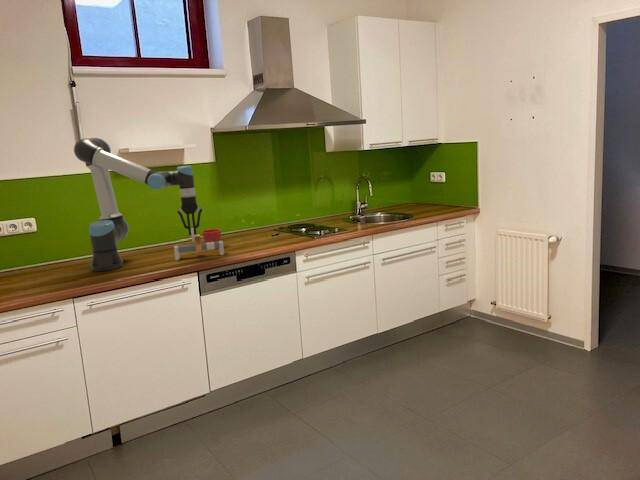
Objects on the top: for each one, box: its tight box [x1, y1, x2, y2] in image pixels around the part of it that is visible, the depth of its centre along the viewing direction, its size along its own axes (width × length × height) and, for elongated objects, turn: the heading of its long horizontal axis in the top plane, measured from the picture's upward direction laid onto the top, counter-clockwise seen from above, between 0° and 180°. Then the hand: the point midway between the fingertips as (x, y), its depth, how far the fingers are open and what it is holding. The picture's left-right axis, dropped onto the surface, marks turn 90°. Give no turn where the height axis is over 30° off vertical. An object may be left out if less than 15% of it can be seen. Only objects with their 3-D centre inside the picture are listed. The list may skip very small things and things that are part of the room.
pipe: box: [173, 240, 225, 261], centre depth 281 cm, size 25×6×7 cm, turn 104°
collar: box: [194, 234, 203, 256], centre depth 280 cm, size 3×7×10 cm, turn 15°
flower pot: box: [201, 228, 222, 243], centre depth 302 cm, size 11×11×10 cm
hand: (193, 240), depth 279 cm, fingers closed
